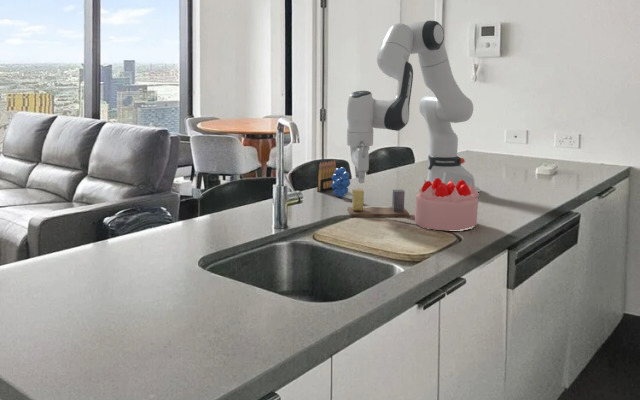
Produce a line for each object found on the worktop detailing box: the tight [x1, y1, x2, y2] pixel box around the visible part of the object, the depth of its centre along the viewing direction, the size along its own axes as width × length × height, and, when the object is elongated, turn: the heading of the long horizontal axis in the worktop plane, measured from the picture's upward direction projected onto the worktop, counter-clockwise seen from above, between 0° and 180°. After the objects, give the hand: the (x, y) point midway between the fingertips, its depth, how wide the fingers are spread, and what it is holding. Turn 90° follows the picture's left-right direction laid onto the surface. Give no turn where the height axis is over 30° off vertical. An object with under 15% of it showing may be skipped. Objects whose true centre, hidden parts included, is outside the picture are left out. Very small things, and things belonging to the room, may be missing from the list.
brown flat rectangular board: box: [347, 206, 410, 218], centre depth 224 cm, size 20×11×1 cm, turn 93°
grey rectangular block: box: [391, 189, 406, 212], centre depth 224 cm, size 4×4×7 cm
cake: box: [414, 178, 480, 231], centre depth 209 cm, size 20×20×14 cm
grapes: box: [331, 166, 351, 199], centre depth 249 cm, size 12×7×12 cm, turn 31°
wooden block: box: [351, 188, 365, 210], centre depth 223 cm, size 4×4×7 cm
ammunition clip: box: [316, 159, 337, 193], centre depth 263 cm, size 11×2×12 cm, turn 140°
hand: (359, 180), depth 222 cm, fingers open, 8 cm apart
